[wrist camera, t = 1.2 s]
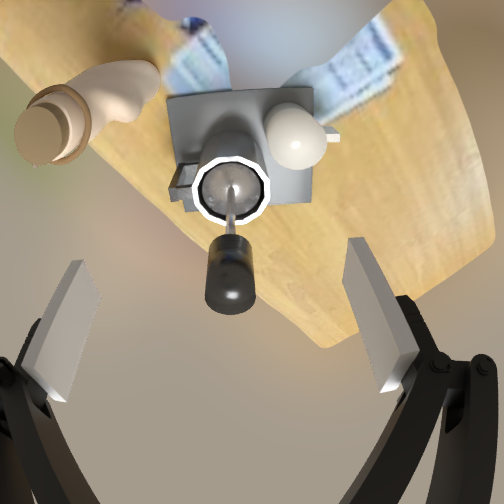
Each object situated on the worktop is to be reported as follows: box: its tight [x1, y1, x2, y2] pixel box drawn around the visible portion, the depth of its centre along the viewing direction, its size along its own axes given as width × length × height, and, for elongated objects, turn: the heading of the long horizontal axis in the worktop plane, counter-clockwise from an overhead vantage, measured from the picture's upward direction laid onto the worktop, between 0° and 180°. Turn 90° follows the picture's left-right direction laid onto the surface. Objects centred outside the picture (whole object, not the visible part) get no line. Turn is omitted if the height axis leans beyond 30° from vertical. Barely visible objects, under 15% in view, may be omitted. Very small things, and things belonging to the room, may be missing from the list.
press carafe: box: [168, 130, 270, 226], centre depth 44 cm, size 10×13×12 cm
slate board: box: [166, 88, 313, 212], centre depth 48 cm, size 20×22×1 cm
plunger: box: [202, 161, 260, 315], centre depth 32 cm, size 7×7×19 cm
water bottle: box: [14, 60, 160, 168], centre depth 30 cm, size 10×9×28 cm
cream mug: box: [263, 102, 340, 170], centre depth 42 cm, size 8×10×9 cm
